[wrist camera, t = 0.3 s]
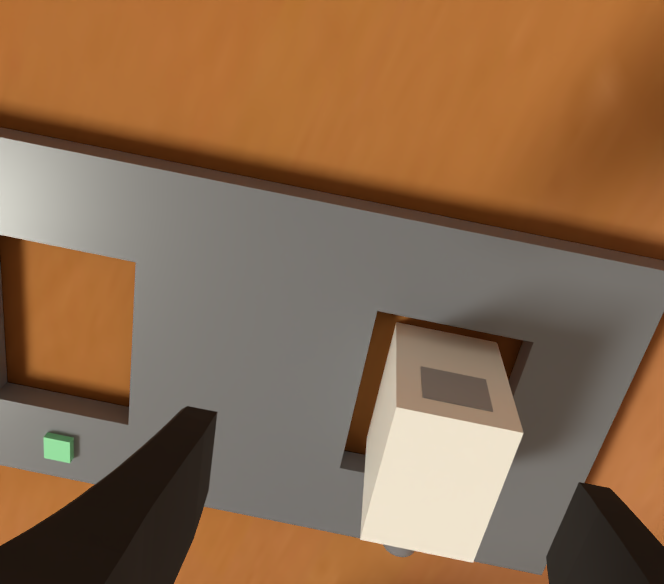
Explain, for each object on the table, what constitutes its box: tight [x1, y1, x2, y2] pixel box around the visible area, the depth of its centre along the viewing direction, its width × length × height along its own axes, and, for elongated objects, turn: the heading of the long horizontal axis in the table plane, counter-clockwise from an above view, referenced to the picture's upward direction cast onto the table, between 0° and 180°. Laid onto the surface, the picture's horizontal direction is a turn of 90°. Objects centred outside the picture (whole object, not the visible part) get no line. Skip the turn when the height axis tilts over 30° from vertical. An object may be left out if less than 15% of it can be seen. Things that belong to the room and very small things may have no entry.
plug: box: [360, 322, 523, 563], centre depth 21 cm, size 8×4×5 cm, turn 170°
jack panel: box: [0, 127, 664, 575], centre depth 22 cm, size 13×24×1 cm, turn 80°
